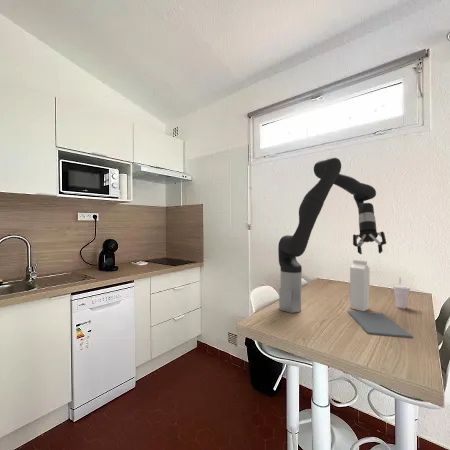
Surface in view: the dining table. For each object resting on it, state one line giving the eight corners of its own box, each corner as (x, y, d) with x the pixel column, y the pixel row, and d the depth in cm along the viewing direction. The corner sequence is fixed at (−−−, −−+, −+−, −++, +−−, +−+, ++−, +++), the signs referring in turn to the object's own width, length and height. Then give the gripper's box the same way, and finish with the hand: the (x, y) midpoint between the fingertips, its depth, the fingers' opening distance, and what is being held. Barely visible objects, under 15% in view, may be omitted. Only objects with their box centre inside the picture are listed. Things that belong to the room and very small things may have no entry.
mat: (412, 337, 81) (412, 336, 81) (367, 333, 84) (367, 332, 84) (382, 314, 103) (382, 313, 103) (347, 312, 105) (347, 310, 105)
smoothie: (393, 304, 117) (393, 275, 118) (410, 307, 113) (410, 277, 114) (392, 307, 113) (392, 277, 113) (409, 310, 108) (409, 279, 109)
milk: (363, 311, 106) (363, 262, 106) (349, 307, 111) (350, 260, 111) (369, 309, 110) (369, 261, 110) (355, 305, 115) (356, 259, 115)
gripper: (350, 222, 126) (352, 252, 121) (381, 218, 117) (385, 250, 112) (354, 226, 132) (356, 255, 127) (384, 223, 122) (388, 254, 117)
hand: (370, 253), depth 119 cm, fingers open, 8 cm apart
